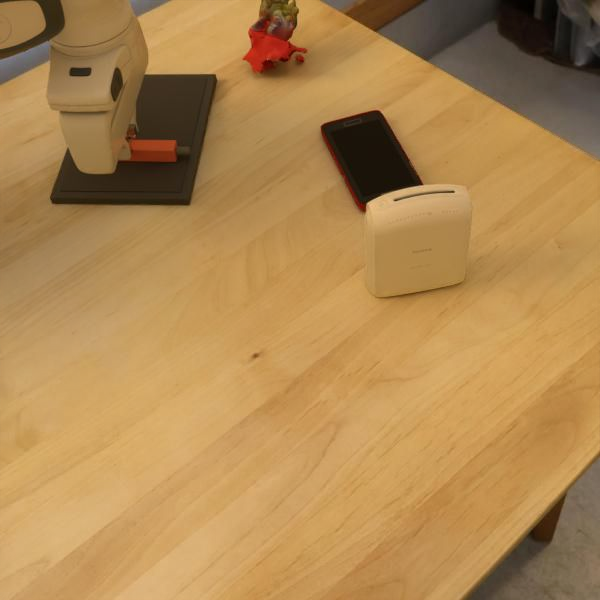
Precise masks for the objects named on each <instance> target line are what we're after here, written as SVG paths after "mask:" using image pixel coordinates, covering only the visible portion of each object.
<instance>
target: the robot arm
mask: <svg viewBox="0 0 600 600" xmlns="http://www.w3.org/2000/svg"><path fill="white" fill-rule="evenodd" d="M47 42H49V44H50V45H49V47H48V53H49V72H48V81H47V87H46V100H47V103H48V106H49V108H50V109H51V110H52V111H57V112H59V114H58V116H59V126H60V129H61V132H62V136H63V138H64V141H65V143H66V145H67V148H69V151H70V153H71V155H72V158H73V160H74V162H75V164H76V166H77V168H78V169H79V170H80V171H82V172H84V173H87V174H112V173H114V171H115V170H116V166H117V163H118V160H129V159H130V158H131V155H132V151H133V147H132V144H131V140H136V137H137V134H138V131H139V130H138V126H137V123H136V101H137V98H138V95H139V91H140V88H141V85H142V82H143V78H144V75H145V74H146V71H147V68H148V65H149V49H148V45H147V42H146V39H145V36H144V33H143V29H142V26H141V23H140V21H139V18H138V17H137V15H136V14H135V13H134V9H133V7H132V4H131V2H130V1H129V0H0V60H4V59H7V58H10V57H14V56H17V55H19V54H21V53H24V52H26V51H29V50H31V49H33V48H35V47H38V46H41V45H43V44H45V43H47Z"/></svg>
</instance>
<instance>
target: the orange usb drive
mask: <svg viewBox="0 0 600 600" xmlns="http://www.w3.org/2000/svg"><path fill="white" fill-rule="evenodd" d="M131 144H132V147H133V151H132V155H131V158H130V159H129V160H118V161H148V162H176V160H177V157H178V155H183V156H189V155H190V154H191V149H190V147H178V146H177V142H176V140H131Z"/></svg>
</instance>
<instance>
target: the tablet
mask: <svg viewBox="0 0 600 600" xmlns="http://www.w3.org/2000/svg"><path fill="white" fill-rule="evenodd" d="M217 81H218V78H217V74H216V73H163V74H162V73H160V74H159V73H155V74H153V73H152V74H151V73H149V74H148V73H145V75H144V78H143V82H142V85H141V88H140V91H139V95H138V98H137V101H136V123H137V126H138V130H139V131H138V134H137V137H136V140H176V142H177V146H178V147H190V149H191V154H190V155H189V156H183V155H178V157H177V160H176V162H148V161H118V163H117V166H116V170H115V171H114V173H112V174H87V173H84V172H82V171H80V170H79V169H78V168H77V166H76V164H75V162H74V160H73V158H72V155H71V153H70V151H69V148H68V147H67V148H66V149H65V153H64V156H63V159H62V162H61V164H60V167H59V171H58V173H57V175H56V179H55V180H54V184H53V187H52V190H51V192H50V195H49V199H50V202H51V204H52V205H53V204H54V205H55V204H56V205H57V204H61V205H63V204H64V205H67V204H68V205H75V204H76V205H147V206H148V205H150V206H151V205H152V206H158V205H159V206H167V205H168V206H190V204H191V201H192V196H193V191H194V187H195V183H196V177H197V173H198V169H199V163H200V160H201V154H202V151H203V146H204V142H205V137H206V136H205V135H206V132H207V127H208V124H209V123H208V122H209V118H210V113H211V108H212V104H213V99H214V95H215V90H216V85H217Z"/></svg>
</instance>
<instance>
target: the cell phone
mask: <svg viewBox="0 0 600 600" xmlns="http://www.w3.org/2000/svg"><path fill="white" fill-rule="evenodd" d="M320 133H321V136H322V138H323V140H324V142H325V144H326V146H327V149H328V150H329V152H330V154H331V156H332V158H333V161H334V162H335V164H336V166H337V168H338V170H339V173H340V174H341V175H342V176H343V178H344V182H345V185H346V186H347V189H348V190H349V192H350V195H351V196H352V199H353V201H354V202H355V205H356V206H357V207H358V209H359V210H360V211H363V212H366V205H367V203H368V202H370V201H372V200H373V199H375V198H378V197H380V196H382V195H385V194H388V193H391V192H394V191H397V190H401V189H405V188H410V187H415V186H421V185H424V182H423V181H422V178H421V177H420V175H419V173H418V171H417V170H416V168H415V166H414V165H413V163H412V162H411V160H410V158H409V157H408V154H407V153H406V151H405V149H404V147H403V145H402V144H401V142H400V141H399V139H398V137H397V136H396V134H395V132H394V130H393V128H392V127H391V125H390V124H389V122H388V120H387V119H386V116H385V115H384V114H383V113H382V111H380V110H378V109H374V110H368V111H364V112H361V113H357V114H352V115H349V116H345V117H341V118H338V119H333V120H330V121H327V122H324V123H322V124H321V125H320Z"/></svg>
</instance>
